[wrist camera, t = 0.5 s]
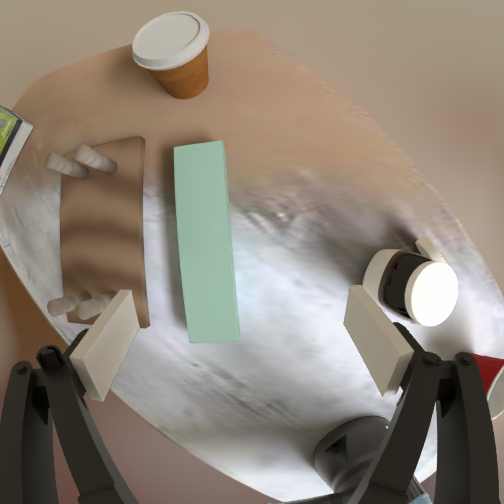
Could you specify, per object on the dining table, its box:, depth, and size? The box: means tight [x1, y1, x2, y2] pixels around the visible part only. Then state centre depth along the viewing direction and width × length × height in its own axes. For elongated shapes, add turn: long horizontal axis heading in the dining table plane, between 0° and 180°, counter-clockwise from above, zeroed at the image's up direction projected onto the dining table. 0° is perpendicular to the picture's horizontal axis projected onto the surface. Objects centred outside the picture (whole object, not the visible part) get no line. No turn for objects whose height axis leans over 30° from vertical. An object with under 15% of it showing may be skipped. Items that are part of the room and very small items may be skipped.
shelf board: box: [174, 141, 240, 343], centre depth 34 cm, size 24×6×4 cm, turn 5°
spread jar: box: [362, 236, 458, 326], centre depth 29 cm, size 12×11×12 cm
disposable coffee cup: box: [132, 12, 209, 99], centre depth 29 cm, size 10×10×12 cm
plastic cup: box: [471, 354, 504, 420], centre depth 29 cm, size 11×11×12 cm
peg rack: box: [46, 137, 150, 328], centre depth 31 cm, size 26×14×10 cm, turn 2°
